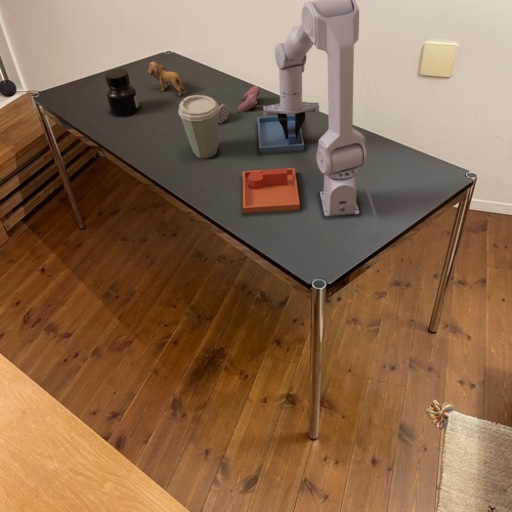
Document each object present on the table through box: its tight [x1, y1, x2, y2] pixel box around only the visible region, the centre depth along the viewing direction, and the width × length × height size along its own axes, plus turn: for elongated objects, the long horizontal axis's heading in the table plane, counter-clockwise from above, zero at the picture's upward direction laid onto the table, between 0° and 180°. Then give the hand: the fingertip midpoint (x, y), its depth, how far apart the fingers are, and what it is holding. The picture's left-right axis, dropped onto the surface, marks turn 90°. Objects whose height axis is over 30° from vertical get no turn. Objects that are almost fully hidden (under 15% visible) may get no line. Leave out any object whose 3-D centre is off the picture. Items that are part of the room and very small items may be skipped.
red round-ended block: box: [248, 168, 288, 189], centre depth 125 cm, size 10×4×4 cm, turn 92°
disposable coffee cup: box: [177, 94, 219, 159], centre depth 135 cm, size 11×11×15 cm
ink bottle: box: [104, 68, 140, 117], centre depth 158 cm, size 10×9×12 cm
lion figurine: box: [146, 61, 190, 97], centre depth 168 cm, size 15×5×9 cm, turn 62°
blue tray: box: [256, 114, 305, 154], centre depth 143 cm, size 17×12×2 cm
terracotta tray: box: [242, 167, 301, 214], centre depth 124 cm, size 15×13×2 cm
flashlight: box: [178, 95, 229, 124], centre depth 154 cm, size 15×5×5 cm, turn 57°
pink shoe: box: [237, 85, 262, 112], centre depth 157 cm, size 10×5×7 cm, turn 168°
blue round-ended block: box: [283, 122, 296, 145], centre depth 141 cm, size 10×4×4 cm, turn 1°
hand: (291, 137), depth 139 cm, fingers closed on blue round-ended block, 2 cm apart
